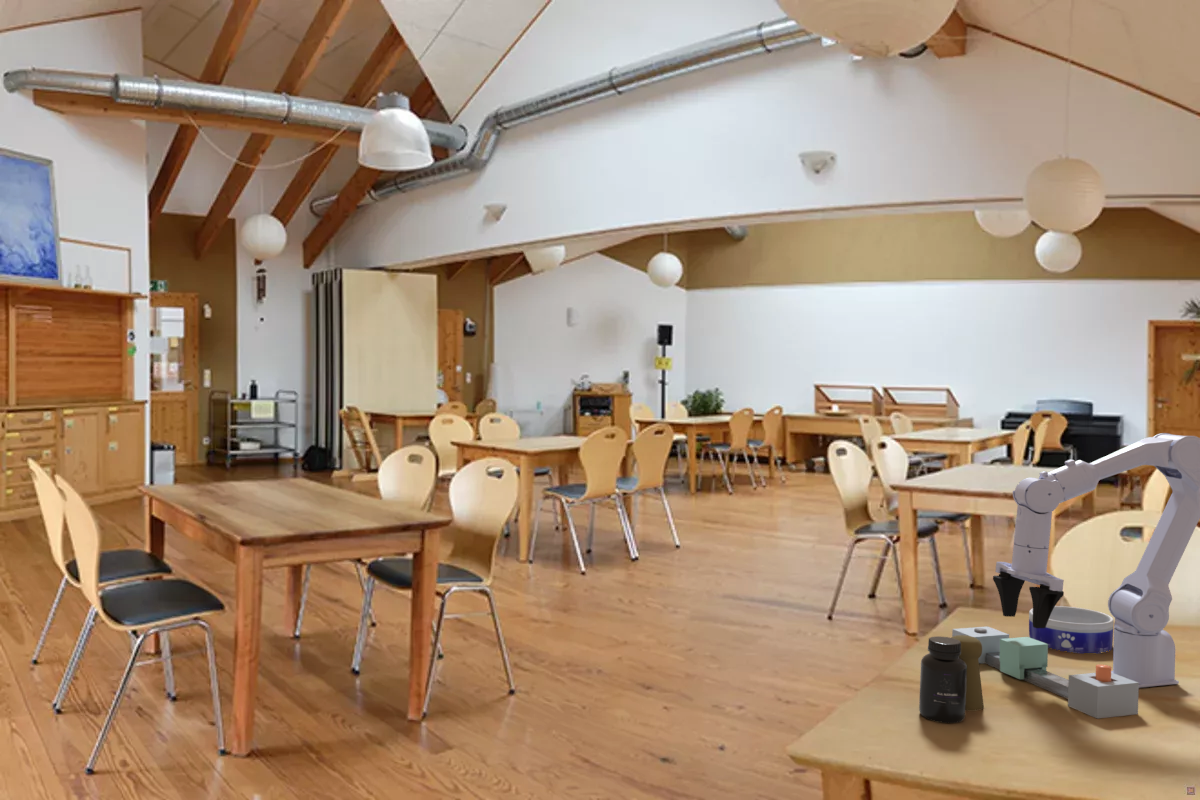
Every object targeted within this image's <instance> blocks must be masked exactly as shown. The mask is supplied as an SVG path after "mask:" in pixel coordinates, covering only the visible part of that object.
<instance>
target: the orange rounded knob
mask: <svg viewBox="0 0 1200 800" xmlns="http://www.w3.org/2000/svg"><path fill="white" fill-rule="evenodd" d="M1111 671H1112V666H1111V665H1108V664H1100V663H1099V664H1096V665H1095V673H1096V680H1098V681H1101V682H1111Z"/></svg>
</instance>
